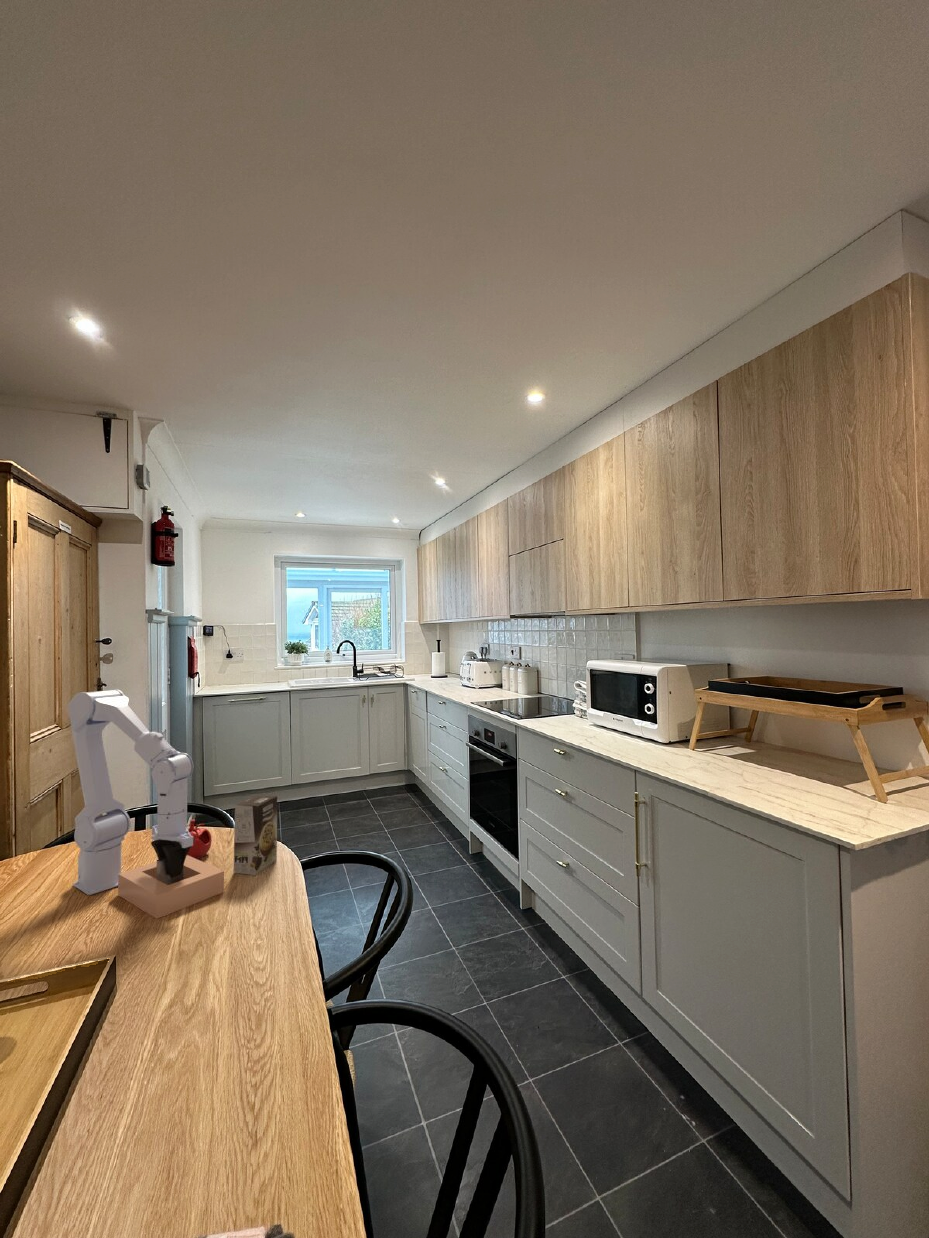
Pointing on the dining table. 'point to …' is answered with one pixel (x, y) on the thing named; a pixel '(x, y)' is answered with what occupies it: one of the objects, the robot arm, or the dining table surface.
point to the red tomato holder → (199, 840)
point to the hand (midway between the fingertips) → (171, 873)
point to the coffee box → (255, 834)
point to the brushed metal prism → (166, 872)
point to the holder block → (170, 887)
